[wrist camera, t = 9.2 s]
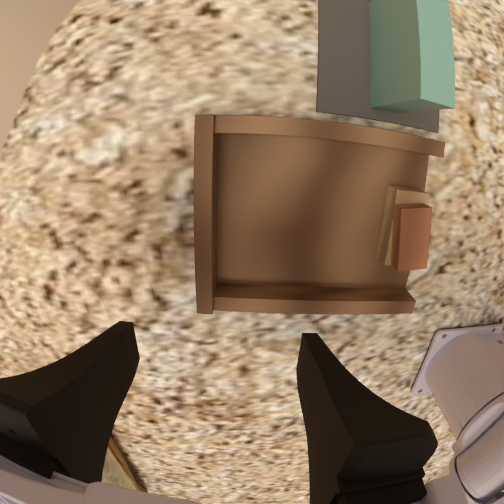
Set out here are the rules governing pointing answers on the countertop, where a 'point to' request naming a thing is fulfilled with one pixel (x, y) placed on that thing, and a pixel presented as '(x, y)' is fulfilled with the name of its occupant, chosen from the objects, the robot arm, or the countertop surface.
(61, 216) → the countertop surface
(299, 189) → the tray
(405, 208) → the offcut upper
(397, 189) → the offcut lower
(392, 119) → the mat
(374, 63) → the block
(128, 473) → the stone slab
